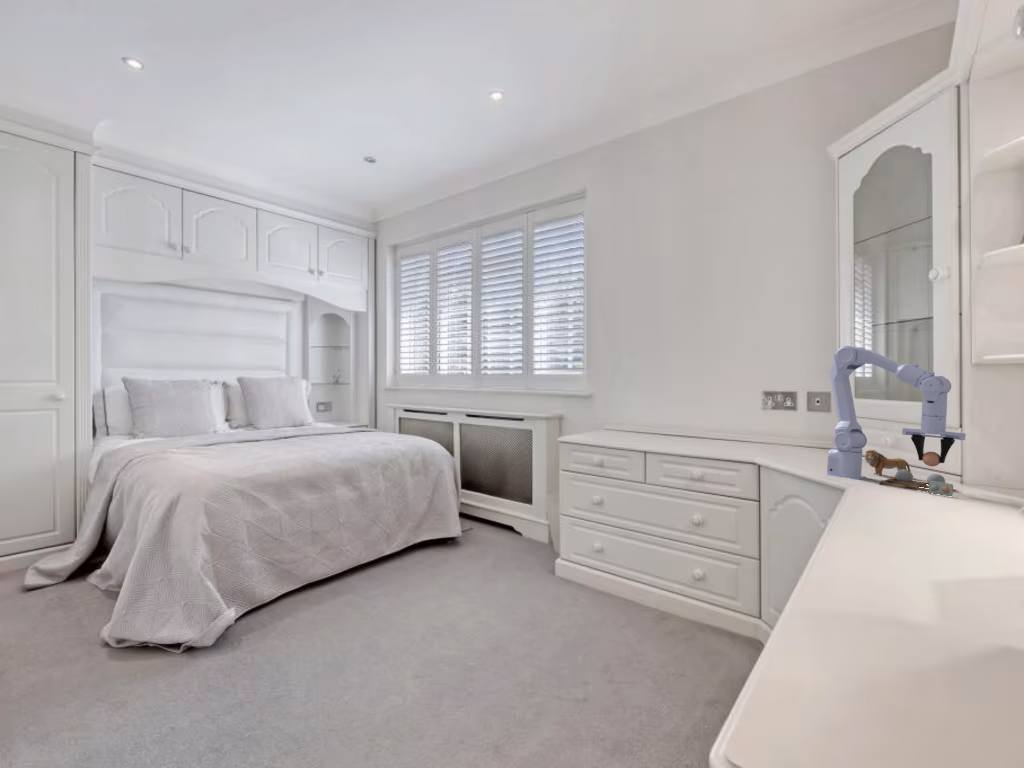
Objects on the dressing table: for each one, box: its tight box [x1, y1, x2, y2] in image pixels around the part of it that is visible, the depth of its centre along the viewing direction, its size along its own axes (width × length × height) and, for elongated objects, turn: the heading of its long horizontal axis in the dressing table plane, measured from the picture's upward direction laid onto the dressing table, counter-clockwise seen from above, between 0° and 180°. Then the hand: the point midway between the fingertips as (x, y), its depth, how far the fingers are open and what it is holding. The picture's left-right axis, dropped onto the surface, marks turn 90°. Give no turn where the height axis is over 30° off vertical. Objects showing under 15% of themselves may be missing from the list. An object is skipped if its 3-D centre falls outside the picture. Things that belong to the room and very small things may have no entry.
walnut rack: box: [879, 477, 929, 493], centre depth 158 cm, size 15×15×1 cm
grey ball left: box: [895, 469, 914, 483], centre depth 164 cm, size 4×4×4 cm
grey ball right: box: [926, 473, 946, 484], centre depth 157 cm, size 4×4×4 cm
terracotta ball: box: [922, 451, 941, 467], centre depth 153 cm, size 4×4×4 cm
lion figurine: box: [864, 449, 912, 477], centre depth 177 cm, size 15×5×9 cm, turn 72°
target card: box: [928, 481, 954, 497], centre depth 146 cm, size 5×1×4 cm, turn 39°
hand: (931, 461), depth 153 cm, fingers closed on terracotta ball, 4 cm apart
